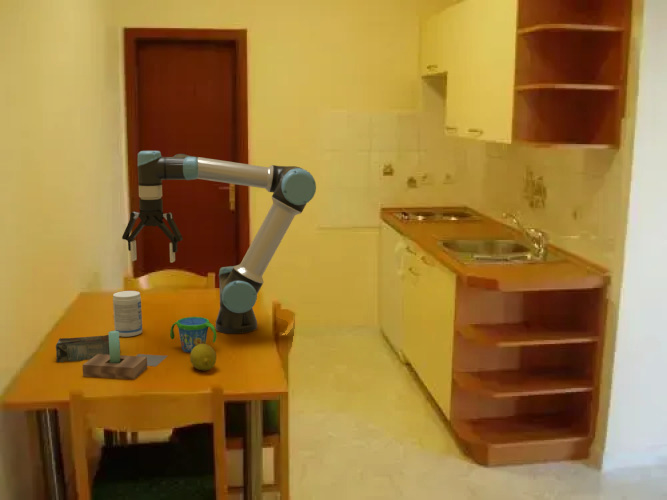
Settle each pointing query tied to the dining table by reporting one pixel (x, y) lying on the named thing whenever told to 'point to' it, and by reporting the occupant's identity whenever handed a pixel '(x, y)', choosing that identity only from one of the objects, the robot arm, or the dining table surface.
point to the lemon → (203, 357)
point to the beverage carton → (81, 348)
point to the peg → (114, 347)
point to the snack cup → (192, 332)
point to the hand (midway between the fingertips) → (153, 261)
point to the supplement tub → (127, 313)
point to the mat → (153, 359)
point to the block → (115, 367)
